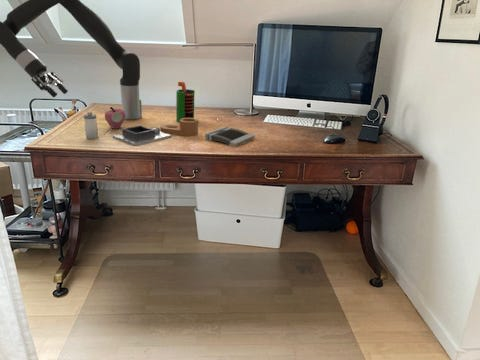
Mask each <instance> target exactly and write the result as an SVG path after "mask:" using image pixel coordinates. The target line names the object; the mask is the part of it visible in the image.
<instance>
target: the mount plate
mask: <svg viewBox="0 0 480 360" xmlns="http://www.w3.org/2000/svg"><path fill="white" fill-rule="evenodd" d="M172 136H173V135H170V134H167V133H164V132H161V131H160V127H158V126H151V127H147V126H144V125H135V126H130V127H125V128H122V129H121V133H118V134H113V135H112V138H113V139H116V140H118V141H121V142H123V143H126V144H128V145H131V146H134V147H135V146H140V145H144V144H149V143H153V142H157V141H158V142H159V141H162V140H167V139H170V138H172Z"/></svg>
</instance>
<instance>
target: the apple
mask: <svg viewBox="0 0 480 360" xmlns="http://www.w3.org/2000/svg"><path fill="white" fill-rule="evenodd" d="M109 109H110V110H108V111H107V110H106V111H105V112H104V119H105V121H106V122H107V124H108V125H109V127H110V128H111V129H119V128H121V127H122V125H123V123H124V122H125V120H126V119H125V116H126V114H125V111H123V110H122V108H121V109H119V108H118V109H117V108H116V109H114V108H113V106H110V107H109Z"/></svg>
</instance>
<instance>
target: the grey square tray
mask: <svg viewBox="0 0 480 360" xmlns="http://www.w3.org/2000/svg"><path fill="white" fill-rule="evenodd" d="M204 137H205V138H204V140H206V141H216V142H220V143H224V144H227V145H230V147H233V146H235V147H236V145H237V146H240V144H241V145H243V144H245V143H248V142H250V141H252V140H253V139H255V135H254V134H253V133H248V132H246V131H244V130H241V129H238V128H233V127H229V126H228V125H226V126H223V127H220V128H216V129H213V130H211V131H208V132H206V133H204ZM249 140H250V141H249ZM247 141H248V142H247ZM244 142H245V143H244ZM242 143H243V144H242Z"/></svg>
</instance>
